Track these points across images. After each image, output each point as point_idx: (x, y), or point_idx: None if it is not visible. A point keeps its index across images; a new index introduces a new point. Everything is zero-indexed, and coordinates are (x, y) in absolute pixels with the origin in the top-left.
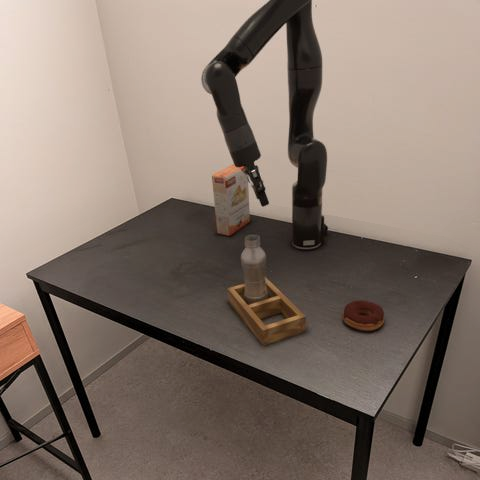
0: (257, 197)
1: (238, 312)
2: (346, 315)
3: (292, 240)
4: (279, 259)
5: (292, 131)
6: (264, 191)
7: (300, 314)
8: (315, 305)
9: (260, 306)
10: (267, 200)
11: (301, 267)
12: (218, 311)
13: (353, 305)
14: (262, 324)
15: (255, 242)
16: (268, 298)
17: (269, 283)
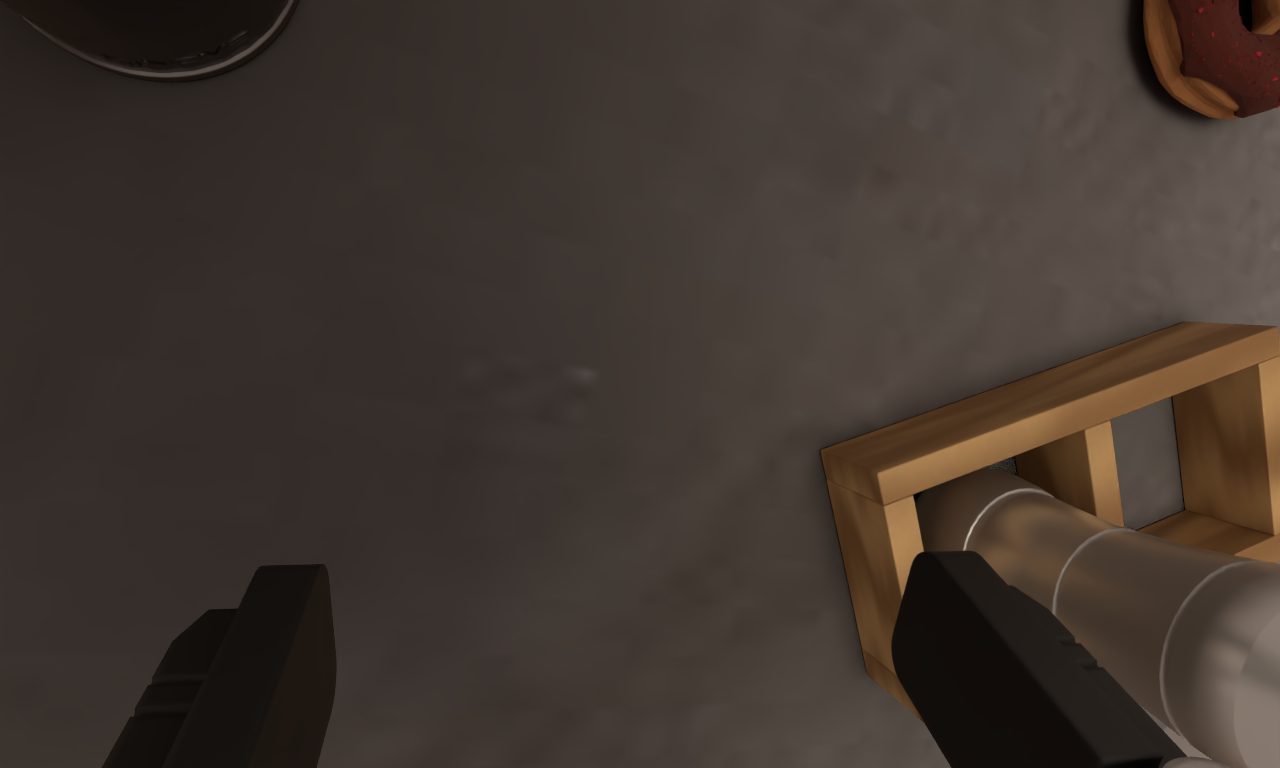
0: (329, 708)
1: None
2: (1276, 105)
3: (134, 65)
4: (408, 271)
5: None
6: (1161, 763)
7: (1259, 348)
8: (1025, 203)
9: None
10: (1002, 598)
11: (588, 136)
12: (926, 726)
13: (1237, 29)
14: (1265, 549)
15: None
16: (1011, 473)
17: (955, 460)
